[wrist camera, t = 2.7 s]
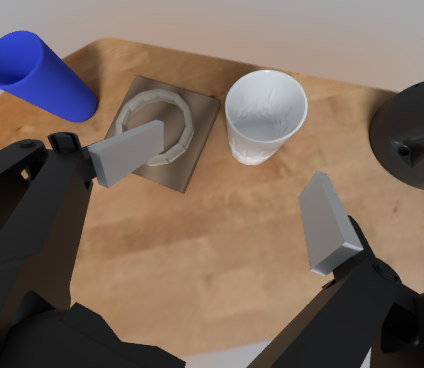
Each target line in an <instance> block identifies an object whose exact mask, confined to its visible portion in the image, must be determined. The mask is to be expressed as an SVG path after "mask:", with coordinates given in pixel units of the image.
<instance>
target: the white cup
mask: <svg viewBox="0 0 424 368" xmlns="http://www.w3.org/2000/svg"><path fill="white" fill-rule="evenodd" d="M307 108H308V104H307V98H306V94H305V92H304V90H303V88H302V87H301V85H300V84H299V83H298V82H297V81H296V80H295V79H294V78H292V77H291V76H289V75H287V74H285V73H283V72H280V71H275V70H258V71H254V72H251V73H249V74H247V75H245V76H243V77H241V78H240V79H239V80H238V81H236V82H235V83H234V85H233V86H232V87H231V89H230V90H229V92H228V94H227V97H226V101H225V114H226V123H227V134H228V140H229V145H230V149H231V153H232V155H233V156H234V157H235V158H236V159H237V160H238V161H239V162H241V163H243V164H246V165H258V164H260V163H262V162H264V161H266V160H267V159H268V158H269V157H270V156H271V155H273V154H274V153H275V152H276V151H277V150H278V149H279V148H280V147H281V146H282V145H283V144H284V143H285V142H286V141H287V140H288V139H289V138H290V137H291V136H292V135H293V134H294V133H295V132H296V131H297V130H298V129H299V128H300V126H301V125H302V123H303V122H304V120H305V117H306V114H307Z"/></svg>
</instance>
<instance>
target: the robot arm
mask: <svg viewBox="0 0 424 368" xmlns="http://www.w3.org/2000/svg"><path fill="white" fill-rule="evenodd" d="M47 137H48V139H49V142H50V144H51V146H52V148H53V150H51V149H46V147H45V145H44V143H43V142H42V141H40V140H31V139H25V140H22V141H18V142H15V143H13V144H11V145H9V146H7V147H5V148H3V149H2V150H0V368H185V365H186V362H185V361H183V360H181V359H179V358H177V357H175V356H174V355H172V354H170V353H168V352H166V351H164V350H163V349H161V348H159V347H157V346H151V345H143V344H135V343H127V342H122V341H121V340H120V339H119V338H118V337H117V335H116V334H115V333H114V332H113V330H112V329H111V328H110V327H109V325H108V324H107V323H106V322H105V320H104V319H103V318H102V316H101V315H99V314H97V313H95V312H93V311H92V310H90V309H88V308H86V307H84V306H83V305H81V304H79V303H77V302H76V303H75V304H74V305H73V306H72V307H71V308H70V304H71V296H70V281H71V277H72V272H73V268H74V264H75V259H76V255H77V251H78V247H79V242H80V238H81V234H82V229H83V225H84V221H85V217H86V212H87V208H88V204H89V199H90V195H91V191H92V187H93V181H92V179H94V178H95V177H97V180H98V183H99V184H100V185H102V186H105V187H107V188H109V187H111V186H112V185H113V184H115V183H116V182H118V181H119V180H121V179H122V178H124V177H125V176H127V175H128V174H130V173H131V172H133V171H134V170H136V169H137V168H138V167H140V166H141V165H143V164H144V163H146V162H147V161H149V160H150V159H152V158H153V157H155V156H156V155H158V154H159V153H161V152H162V151H164V122H162V121H158V120H154V121H152V122H149V123H146V124H144V125H141V126H139V127H136V128H133V129H131V130H128V131H126V132H123V133H121V134H118V135H115V136H113V137H109V138H106V139H104V140H101V141H99V142H96V143H93V144H91V145H88V146H85V147H83V148H81V145H80V142H79V139H78V135H76V134H75V133H71V132H58V133H53V134H50V135H49V136H47ZM370 141H371V145H372V148H373V151H374V153H375V155H376V157H377V159H378V160H379V162H380V163H381V164H382V166H383V167H384V168H385V169H386V170H387V171H388V172H389V173H390V174H392V175H393V176H394V177H396V178H397V179H399V180H400V181H402V182H404V183H406V184H408V185H410V186H413V187H416V188H419V189H423V190H424V82H421V83H418V84H415V85H413V86H411V87H409V88H407V89H405V90H403V91H402V92H400V93H399V94H397V95H396V96H394V97H393V98H391V99H390V100H388V101H387V102H386V103H384V104H383V105H382V106H381V107H380V108H379V110H378V111H377V112H376V114H375V116H374V118H373V120H372V123H371V127H370ZM24 169H25V171H26V173H27V174H28V176H29V177H28V178H27V179H24V178H23V176H22V175H21V172H22V171H23V170H24ZM298 198H299V204H300V210H301V216H302V222H303V228H304V234H305V240H306V246H307V252H308V258H309V264H310V270H311V271H313V272H316V273H318V274H321V275H323V276H326V275H328V274H329V273H330V272H332V271H333V275H334V278H335V279H333V280H332V281H330V282H329V283H327V284H326V285H324V286H322V288H323V289H322V290H321V291H320V292H319V293H318V294H317V295H316V297H315V298H314V299H313V300H312V301H311V302H310V303H309V304H308V305H307V306H306V307H305V308H304V309H303V310H302V311H301V312H300V313H299V314H298V315H297V316H296V317H295V318H294V319H293V320H292V321H291V322H290V323H289V324H288V325H287V326H286V327H285V328H284V329H283V330H282V331H281V333H280V334H279V335H278V336H277V337H276V338H275V339H274V340H273V341H272V342H271V343H270V344H269V345H268V346H267V347H266V348H265V349H264V350H263V351H262V352H261V353H260V354H259V355H258V356H257V357H256V358H255V359H254V361H252V363H250V364H249V365H248V366H247V367H246V368H360V367H361V364H362V363H363V361H364V359H365V357H366V355H367V353H368V351H369V349H370V348H371V357H370V368H424V293H422V294H418V293H417V292H415V291H413V290H412V289H410V288H408V287H407V286H405V285H404V284H402V281H401V279H400V277H399V276H398V274H397V273H396V272H395V271H394V270H393V269H392V268H391V267H390V266H389V265H388V264H386V263H385V262H383V261H382V260H380V259H378V258H376V257H375V255H374V253H373V251H372V249H371V247H370V246H369V244H368V242H367V240H366V238H364V237H365V236H364V234H363V232H361V231H362V230H361V229H360V227H359V225H358V223H357V222H356V221H355V220H354V219H353V218H352V217H351V216H349V215H347V214H346V212H345V210H344V208H343V206H342V204H341V202H340V199H339V197H338V195H337V193H336V191H335V189H334V187H333V185H332V183H331V181H330V179H329V177H328V175H327V174H325V173H322V172H318V171H317V172H316V173H315V174H314V176H313V177H312V179H311V180H310V182H309V183H308V184H307V186H306V187H305V189H304V190H303V192H302V193H301V194H300V196H299V197H298Z"/></svg>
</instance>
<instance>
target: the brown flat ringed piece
mask: <svg viewBox="0 0 424 368" xmlns="http://www.w3.org/2000/svg"><path fill="white" fill-rule="evenodd" d="M220 107H221V100H218V99H214V98H211V97H208V96H204V95H201V94H197V93H194V92H191V91H187V90H184V89H180V88H177V87H174V86H170V85H167V84H163V83H160V82H156V81H153V80H150V79H146V78H143V77H139V76H135V78H134V80H133V82H132V84H131V86H130V88H129V90H128V92H127V94H126V96H125V98H124V100H123V102H122V104H121V106H120V108H119V110H118V112H117V114H116V116H115V118H114V120H113V122H112V124H111V126H110V128H109V130H108V132H107V134H106V136H105V138H104V139H106V138H109V137H113V136H115V135H118V134H121V133H123V132H126V131H128V130H131V129H133V128H136V127H139V126H141V125H144V124H146V123H149V122H152V121H154V120H158V121H162V122H164V151H162V152H161V153H159V154H158V155H156V156H155V157H153V158H152V159H150V160H149V161H147V162H146V163H144V164H143V165H141V166H140V167H138V168H137V169H136V170H134V171H133V172H131V173H133V174H136V175H138V176H141V177H143V178H146V179H148V180H151V181H153V182H156V183H158V184H161V185H164V186H166V187H169V188H171V189H174V190H176V191H179V192H181V193H185V191H186V188H187V186H188V184H189V181H190V179H191V176H192V174H193V172H194V169H195V167H196V165H197V162H198V160H199V157H200V155H201V153H202V150H203V148H204V145H205V143H206V141H207V138H208V136H209V133H210V131H211V129H212V126H213V124H214V121H215V119H216V117H217V114H218V112H219V109H220Z"/></svg>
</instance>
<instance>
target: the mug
mask: <svg viewBox="0 0 424 368" xmlns="http://www.w3.org/2000/svg"><path fill="white" fill-rule="evenodd" d="M0 89H2V90H4V91H6V92H8V93H10V94H12V95H14V96H17V97H19V98H21V99H23V100H25V101H27V102H29V103H31V104H33V105H35V106H38V107H40V108H42V109H44V110H46V111H48V112H50V113H52V114H54V115H57V116H59V117H61V118H63V119H65V120H68V121H71V122H83V121H85V120H87V119H89V118H90V117H91V116H92V115H93V114H94V112H95V110H96V107H97V100H96V97H95V95H94V93H93V92H92V91H91V89H90V88H89V87H88V86H87V85H86V84H85V83H84V82H83V81H82V80H81V79H80V78H79V77H78V76H77V75H76V74H75V73H74V72H73V71H72V70H71V69H70V68H69V67H68V66H67V65H66V64H65V63H64V62H63V61H62V60H61V59H60V58H59V57H58V56H57V55H56V54H55V53H54V52H53V51H52V50H51V49H50V48H49V47H48V46H47V45H46V44H45V43H44V42H43V41H42V40H41V39H40V38H39V37H38V36H37V35H36V34H34V33H31V32H28V31H16V32H12V33H9V34H7V35H5V36H4V37H2V38H1V39H0Z"/></svg>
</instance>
